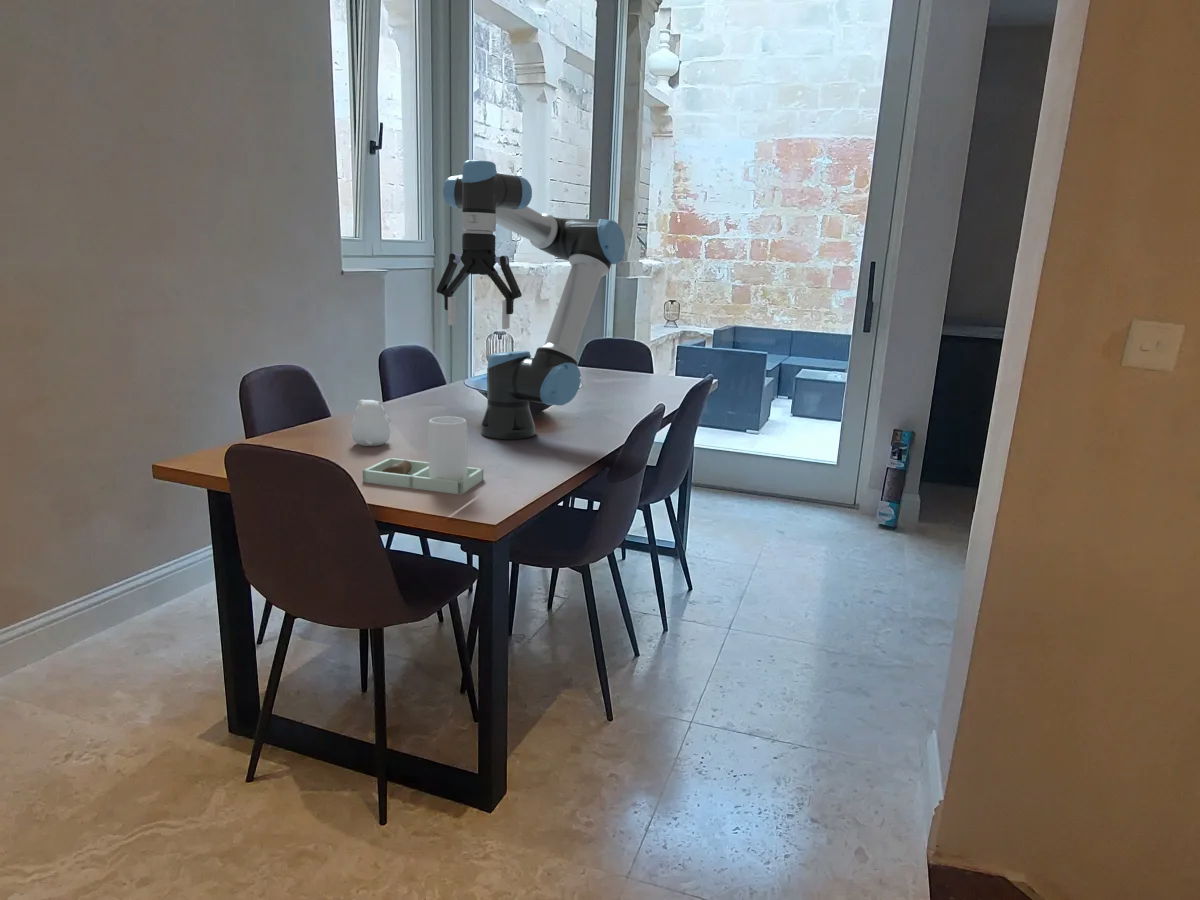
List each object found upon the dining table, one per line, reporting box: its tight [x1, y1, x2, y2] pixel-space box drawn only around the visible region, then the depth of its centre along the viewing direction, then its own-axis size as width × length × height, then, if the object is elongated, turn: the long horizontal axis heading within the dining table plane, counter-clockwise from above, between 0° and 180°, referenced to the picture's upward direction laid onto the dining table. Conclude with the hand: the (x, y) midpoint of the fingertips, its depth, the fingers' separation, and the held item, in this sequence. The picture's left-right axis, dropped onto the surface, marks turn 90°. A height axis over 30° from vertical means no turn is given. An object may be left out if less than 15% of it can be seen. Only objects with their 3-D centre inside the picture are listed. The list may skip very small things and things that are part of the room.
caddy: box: [362, 457, 484, 495], centre depth 173 cm, size 12×23×3 cm, turn 75°
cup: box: [427, 415, 469, 481], centre depth 170 cm, size 8×8×14 cm
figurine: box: [351, 399, 392, 447], centre depth 201 cm, size 10×10×12 cm
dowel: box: [382, 459, 411, 474], centre depth 175 cm, size 8×3×3 cm
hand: (478, 326), depth 184 cm, fingers open, 13 cm apart
